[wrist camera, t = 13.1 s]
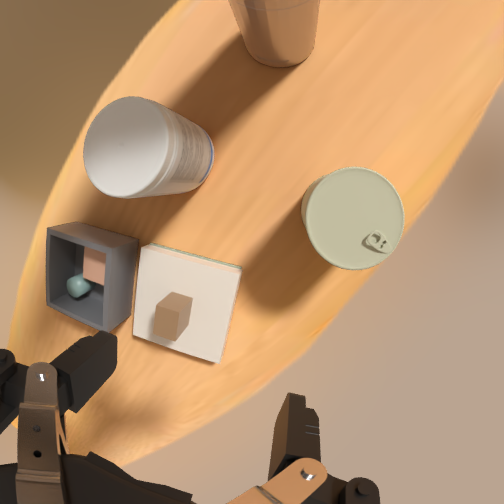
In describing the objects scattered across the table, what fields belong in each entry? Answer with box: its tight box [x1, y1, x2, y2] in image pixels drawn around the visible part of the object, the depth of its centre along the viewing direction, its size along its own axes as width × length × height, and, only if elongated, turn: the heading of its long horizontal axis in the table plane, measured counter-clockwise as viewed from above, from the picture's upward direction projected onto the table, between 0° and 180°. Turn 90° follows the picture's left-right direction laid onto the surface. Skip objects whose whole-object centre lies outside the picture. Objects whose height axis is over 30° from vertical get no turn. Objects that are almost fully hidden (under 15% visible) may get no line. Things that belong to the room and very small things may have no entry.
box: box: [46, 222, 139, 333], centre depth 39 cm, size 12×12×7 cm
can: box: [301, 167, 404, 270], centre depth 30 cm, size 9×9×12 cm
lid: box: [133, 244, 243, 364], centre depth 37 cm, size 13×13×7 cm
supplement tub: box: [83, 97, 214, 199], centre depth 30 cm, size 10×10×15 cm
